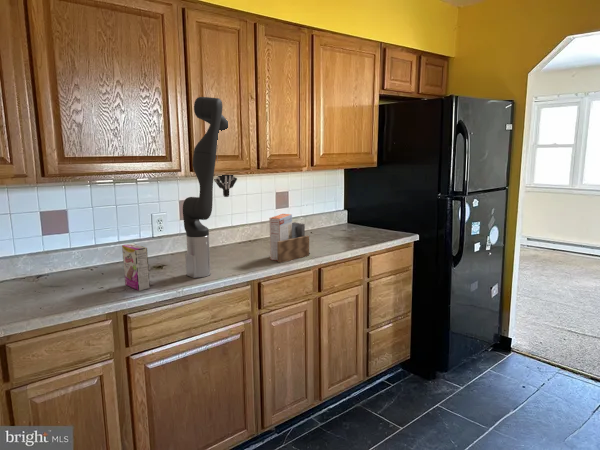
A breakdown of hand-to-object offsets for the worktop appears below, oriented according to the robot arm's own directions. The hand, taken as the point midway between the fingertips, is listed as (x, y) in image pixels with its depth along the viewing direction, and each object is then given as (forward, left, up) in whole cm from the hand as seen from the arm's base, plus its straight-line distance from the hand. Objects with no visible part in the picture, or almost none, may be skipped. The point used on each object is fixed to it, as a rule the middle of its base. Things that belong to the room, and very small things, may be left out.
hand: (226, 196), depth 217 cm
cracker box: (+13, -27, -29) cm, 42 cm away
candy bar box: (-58, -21, -29) cm, 68 cm away
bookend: (+25, -29, -29) cm, 48 cm away
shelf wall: (+15, -34, -29) cm, 47 cm away
